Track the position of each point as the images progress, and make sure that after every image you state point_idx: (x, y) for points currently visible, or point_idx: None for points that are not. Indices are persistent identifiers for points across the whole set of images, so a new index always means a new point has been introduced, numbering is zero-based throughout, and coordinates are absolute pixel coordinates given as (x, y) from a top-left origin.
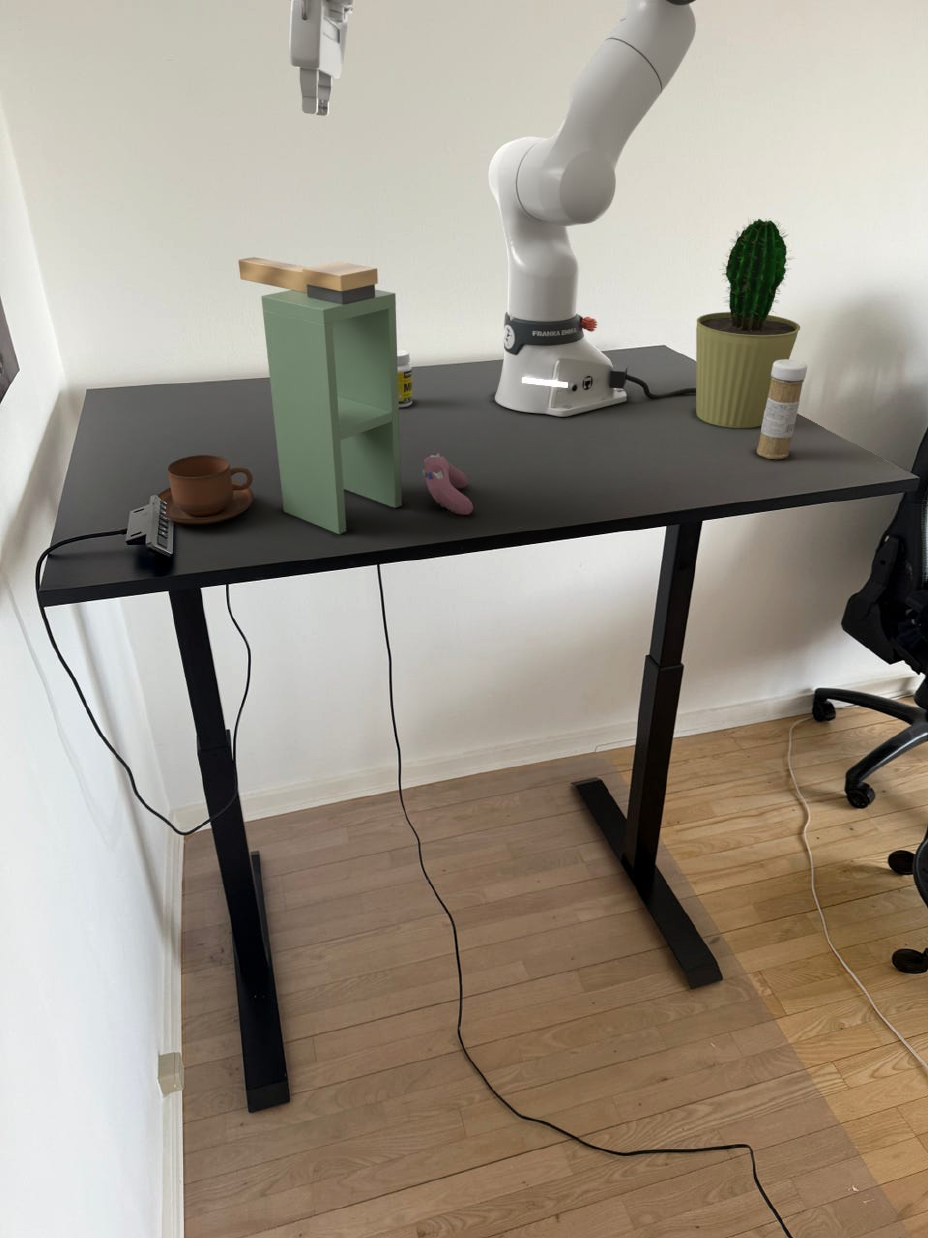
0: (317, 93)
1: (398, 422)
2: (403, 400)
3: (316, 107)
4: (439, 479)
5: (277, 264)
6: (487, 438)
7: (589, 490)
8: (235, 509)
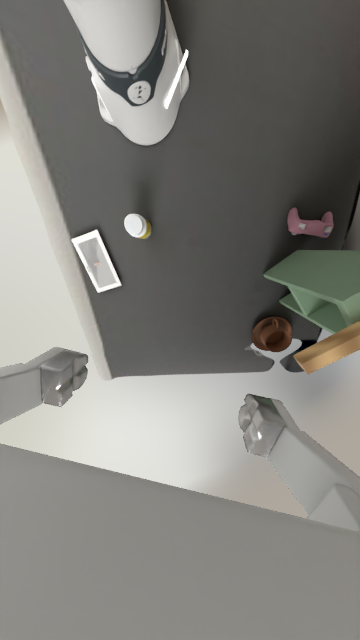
0: (300, 439)
1: (330, 250)
2: (150, 225)
3: (284, 407)
4: (331, 229)
5: (346, 350)
6: (218, 173)
7: (329, 115)
8: (275, 322)
